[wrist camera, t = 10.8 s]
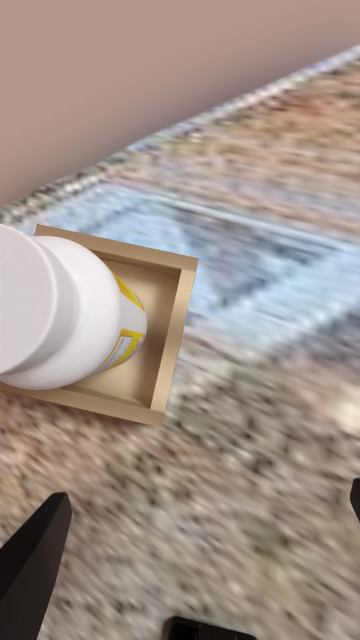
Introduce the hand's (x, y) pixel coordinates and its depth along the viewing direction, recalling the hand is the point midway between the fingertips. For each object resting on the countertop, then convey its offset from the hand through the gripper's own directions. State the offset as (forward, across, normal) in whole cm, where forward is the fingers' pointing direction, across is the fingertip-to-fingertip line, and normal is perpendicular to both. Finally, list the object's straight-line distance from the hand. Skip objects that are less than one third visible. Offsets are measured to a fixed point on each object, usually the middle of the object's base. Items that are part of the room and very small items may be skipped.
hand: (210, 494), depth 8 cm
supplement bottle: (+14, +6, -1) cm, 15 cm away
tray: (+14, +6, -1) cm, 15 cm away
